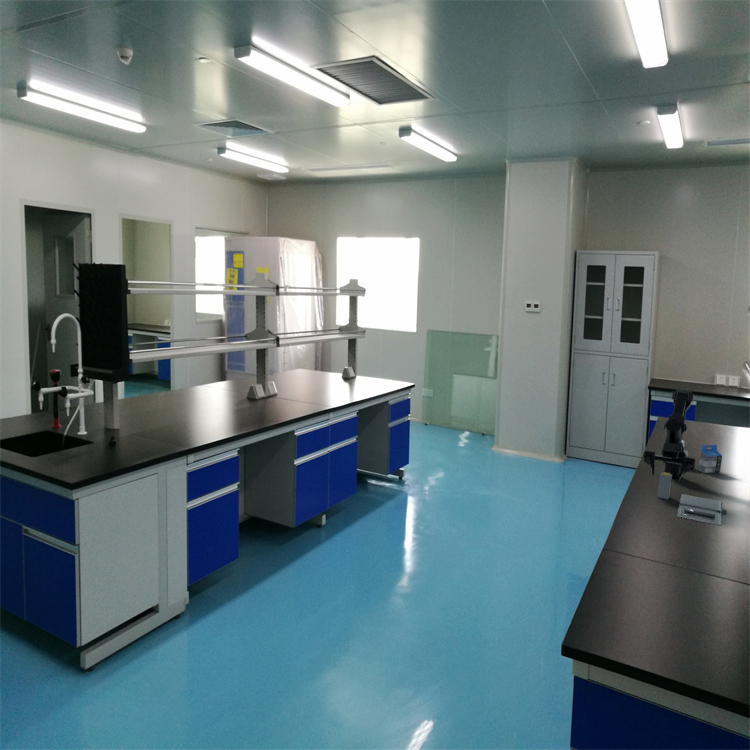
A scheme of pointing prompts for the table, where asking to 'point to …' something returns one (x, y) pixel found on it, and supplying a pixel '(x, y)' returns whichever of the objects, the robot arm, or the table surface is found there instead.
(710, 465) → the label tape cartridge
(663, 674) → the table surface
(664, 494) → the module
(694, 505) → the case
